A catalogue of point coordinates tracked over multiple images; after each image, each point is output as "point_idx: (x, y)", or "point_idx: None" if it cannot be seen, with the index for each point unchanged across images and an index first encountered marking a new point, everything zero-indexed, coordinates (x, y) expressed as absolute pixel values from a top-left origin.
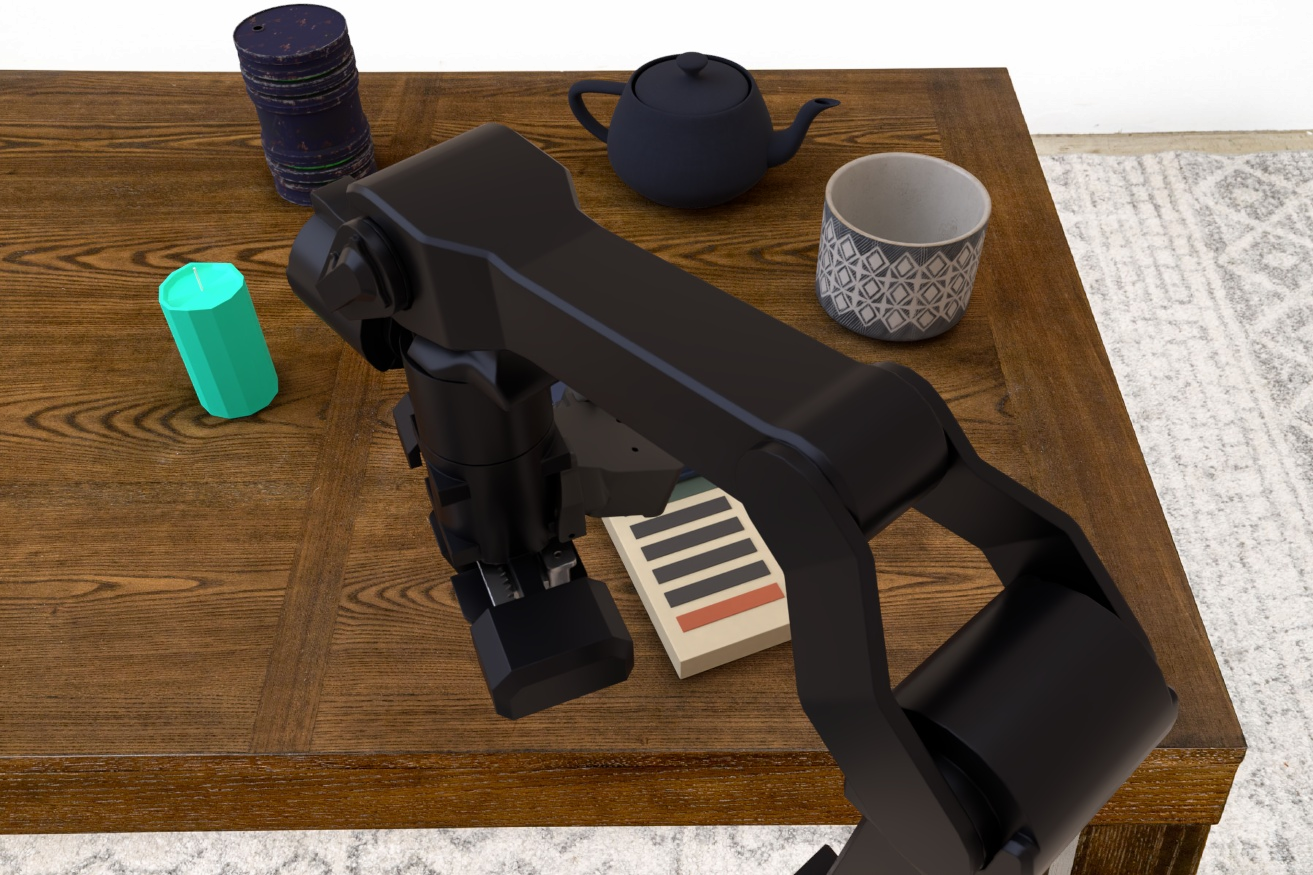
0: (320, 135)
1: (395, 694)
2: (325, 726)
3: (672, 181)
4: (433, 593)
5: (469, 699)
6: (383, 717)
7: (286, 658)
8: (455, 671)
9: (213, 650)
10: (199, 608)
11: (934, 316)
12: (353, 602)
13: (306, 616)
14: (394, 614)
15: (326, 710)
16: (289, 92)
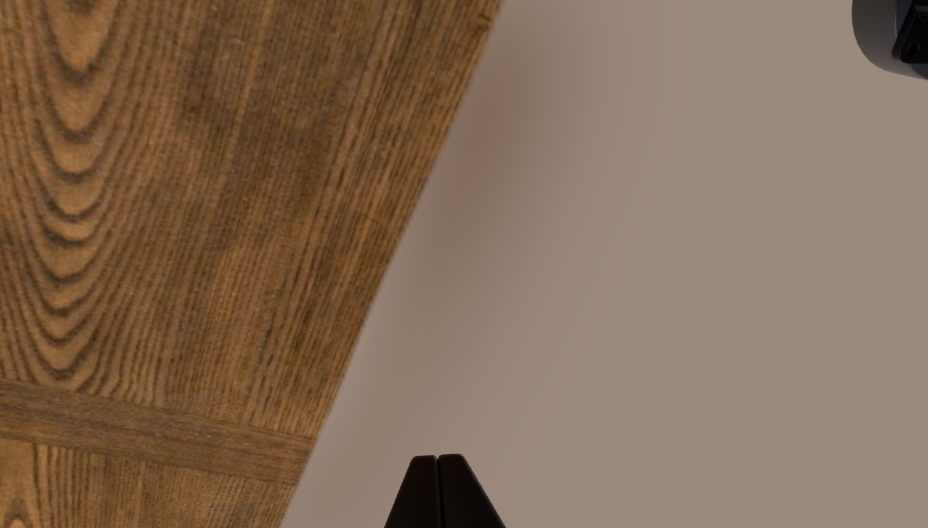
0: None
1: (262, 351)
2: (290, 423)
3: None
4: (63, 271)
5: (300, 267)
6: (296, 368)
7: (168, 450)
8: (241, 273)
9: (139, 509)
10: (64, 519)
11: None
12: (72, 375)
13: (94, 427)
14: (105, 330)
15: (265, 420)
16: None
